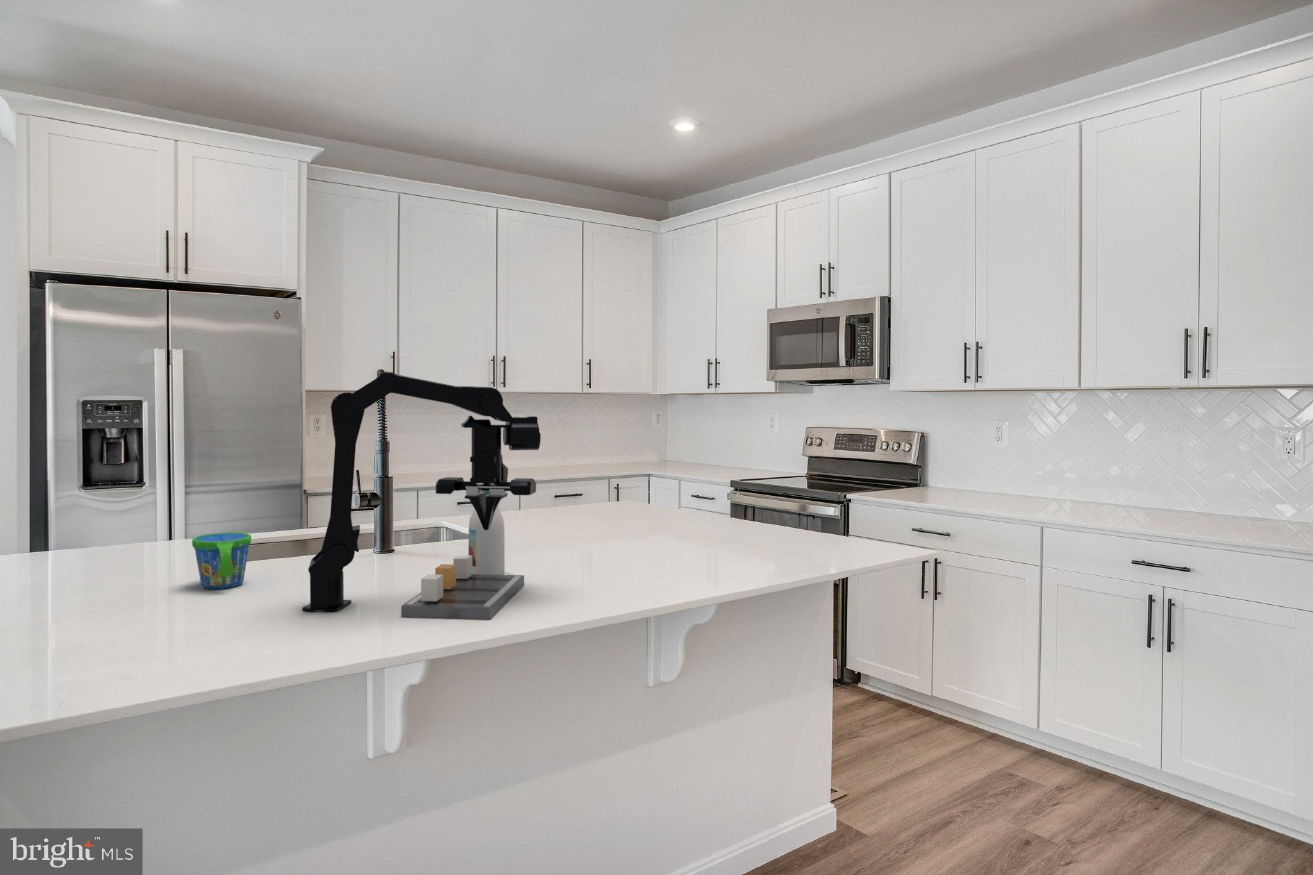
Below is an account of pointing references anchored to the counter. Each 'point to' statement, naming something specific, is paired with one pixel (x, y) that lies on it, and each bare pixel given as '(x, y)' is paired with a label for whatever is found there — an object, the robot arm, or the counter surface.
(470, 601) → the panel
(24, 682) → the counter surface
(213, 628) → the counter surface
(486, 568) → the milk bottle
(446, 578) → the orange block
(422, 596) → the grey small block
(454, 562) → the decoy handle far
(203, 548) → the snack cup
